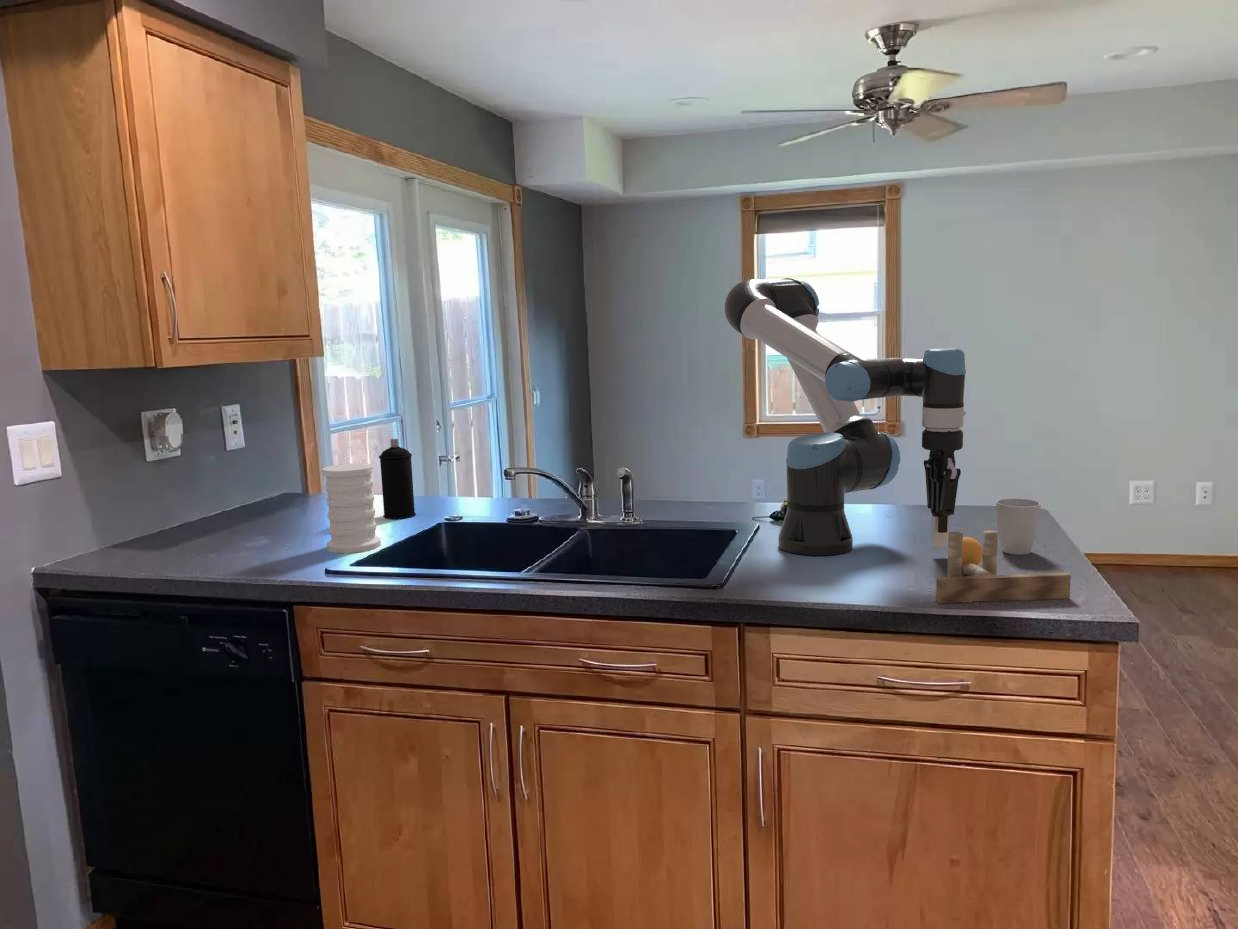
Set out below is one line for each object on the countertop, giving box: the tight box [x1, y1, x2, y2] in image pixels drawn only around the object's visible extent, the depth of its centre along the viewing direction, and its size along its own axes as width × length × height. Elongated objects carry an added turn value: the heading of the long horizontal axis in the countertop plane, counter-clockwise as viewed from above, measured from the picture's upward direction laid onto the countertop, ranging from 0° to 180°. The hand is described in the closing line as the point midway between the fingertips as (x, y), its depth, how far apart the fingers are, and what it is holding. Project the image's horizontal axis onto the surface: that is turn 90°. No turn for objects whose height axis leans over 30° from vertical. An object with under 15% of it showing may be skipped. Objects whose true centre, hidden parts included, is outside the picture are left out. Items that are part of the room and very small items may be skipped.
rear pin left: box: [981, 530, 999, 575], centre depth 165 cm, size 2×2×8 cm
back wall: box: [935, 572, 1072, 604], centre depth 153 cm, size 22×2×4 cm, turn 92°
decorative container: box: [321, 462, 382, 554], centre depth 202 cm, size 12×12×18 cm
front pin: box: [962, 562, 994, 576], centre depth 164 cm, size 2×2×8 cm
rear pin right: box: [946, 531, 964, 577], centre depth 165 cm, size 2×2×8 cm
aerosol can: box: [378, 438, 417, 520], centre depth 233 cm, size 8×8×20 cm
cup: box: [995, 498, 1041, 556], centre depth 182 cm, size 8×8×10 cm
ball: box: [962, 536, 983, 569], centre depth 172 cm, size 6×6×6 cm
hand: (939, 547), depth 180 cm, fingers closed
